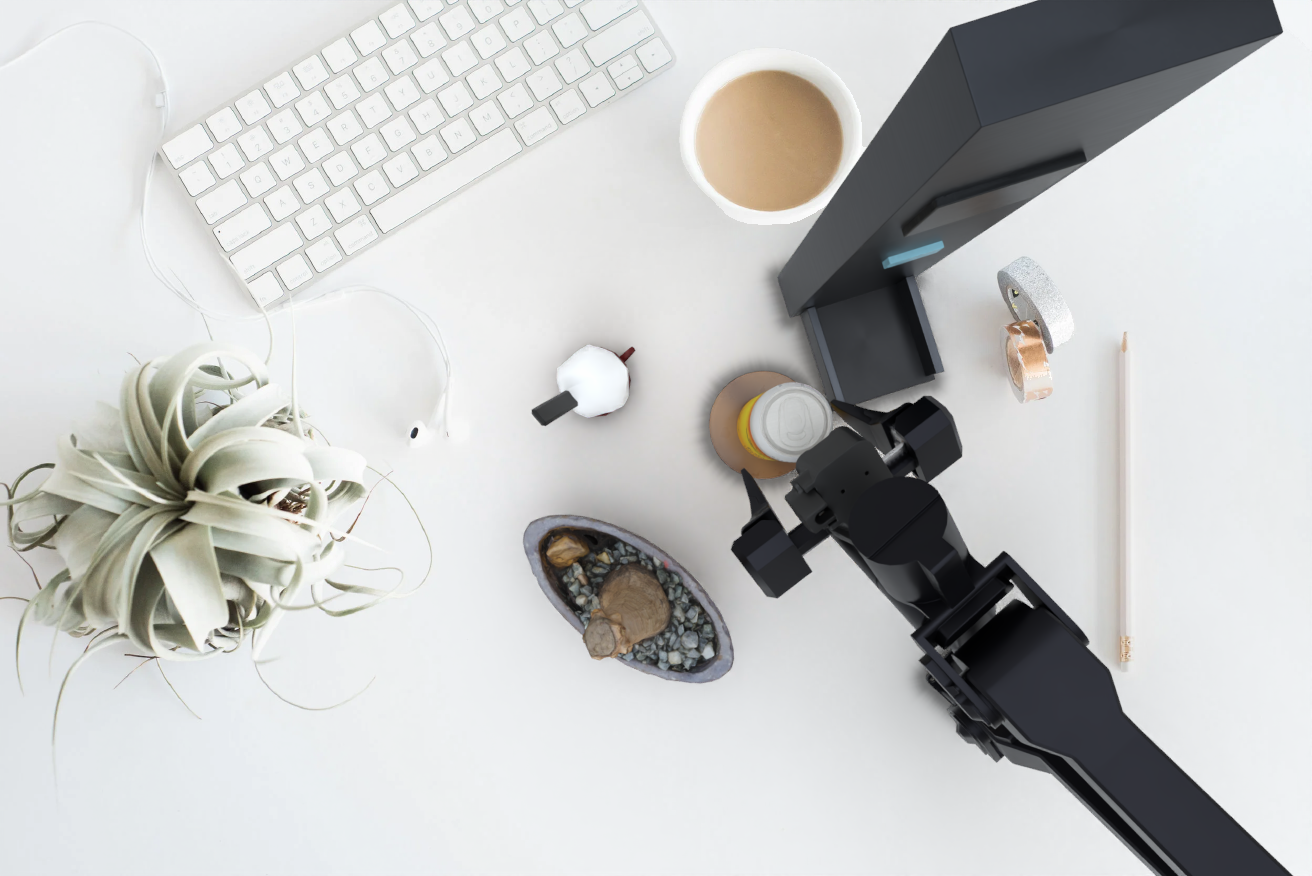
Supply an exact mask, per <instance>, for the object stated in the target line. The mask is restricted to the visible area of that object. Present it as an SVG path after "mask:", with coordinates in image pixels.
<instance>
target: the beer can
mask: <svg viewBox="0 0 1312 876" xmlns="http://www.w3.org/2000/svg"><path fill="white" fill-rule="evenodd" d="M833 430H834V415H833V412H832V411H831V408H830V406H829V404H828V401H827V398H826V396H824V395H823V394H822V393H821V392H820V391H819V390H818V389H816V388H814V387H813V386H811V385H809V384H806V383H803V382H797V381H795V382H789V383H783V384H780V385H777V386H775V387H773V388H771V389H769V390H768V391H766V392H764V393H762V394H760V395H758V396H756V397H754V398H753V399H751V400H750V401H749V402H747V403H746V404H745V406H744V407H743V408H742V410H741V412H740V414H739V417H738V420H737V433H738V437H739V440H740V442H741V443H742V445H743V447H744V448H745V449H746V450H747V451H748V452H749V453H751V454H752V455H754V456H755V457H758V458H761V459H765V460H773V461H782V462H796V461H797V459H798V458H799V456H800V455H801V454H803V453H804V452H805V451H807V450H810V449H812V448H813V447H814V446H815V445H817V444H818V443H819V442H821V441H822V440H823V439H825V438H826V437H827V436H828V435H829V434H830V432H831V431H833Z"/></svg>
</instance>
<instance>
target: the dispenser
mask: <svg viewBox="0 0 1312 876" xmlns="http://www.w3.org/2000/svg"><path fill="white" fill-rule="evenodd" d="M1283 33H1284V30H1283V25H1282V22H1281V20H1280V17H1279V14H1278V10H1277V7H1276V4H1275V1H1274V0H1033V1H1030V2H1026V3H1024V4H1020V5H1017V6H1015V7H1011V8H1007V9H1005V10H1002V11H998V12H995V13H992V14H989V15H985V16H982V17H979V18H975V19H972V20H969V21H966V22H963V23H960V24H956V25H954V26H950V27H949V28H948V30H947V31H946V33H945V34H944V35H943V37H942V38H941V40H940V41H939V43H938V44H937V46H936V47H935V48H934V49H933V52H931V54H930V56H929V57H928V59H927V60H926V61H925V62H924V65H922V67H921V69H920V70H919V71H918V73H917V74H916V76H915V77H914V79H913V80H912V82H911V83H910V85H909V86H908V88H907V89H906V90H905V92H904V93H903V95H902V96H901V98H900V99H899V100H898V102H897V104H896V105H895V106H894V108H893V109H892V110H891V112H890V113H889V115H888V116H887V118H886V119H885V120H884V122H883V124H882V125H881V126H880V128H879V129H878V131H877V132H876V134H875V135H874V136H873V138H872V139H871V141H870V142H869V143H868V146H866V148H865V149H864V151H863V152H862V154H861V156H860V157H859V158H858V159H857V161H856V163H855V164H854V165H853V166H852V168H851V169H850V172H848V174H847V176H846V177H845V178H844V180H843V181H842V183H841V184H840V186H839V187H838V189H837V190H836V191H835V193H834V194H833V195H832V197H831V198H830V200H829V201H828V203H827V205H826V206H825V208H823V210H822V211H821V213H820V215H819V216H818V217H817V219H816V220H815V222H814V223H813V224H812V226H811V227H810V229H809V230H808V231H807V233H806V235H805V236H804V238H803V239H802V240H801V242H800V243H799V245H797V246H798V247H797V248H796V249H795V250H794V252H793V254H792V255H791V256H790V258H789V259H788V261H786V263H785V265H784V266H783V268H782V269H781V271H780V272H779V274H778V275H777V276H776V279H777V282H778V285H779V288H780V291H781V294H782V298H783V300H784V304H785V306H786V307H785V308H786V310H787V313H788V316H789V318H794V317H797V316H800V319H801V321H802V325H803V328H804V331H805V335H806V337H807V340H808V344H809V347H810V350H811V353H812V356H813V359H814V363H815V366H816V370H817V372H818V375H819V379H820V382H821V384H822V388H823V391H824V394H825V399H826V400H827V402H828V404H829V406H830V408H831V411H832V413H833V412H835V411H834V409H833V408H832V406H831V404H830V401H832V400H833V399H835V400H839V401H842V402H846V403H849V404H852V405H858V404H862V403H865V402H867V401H868V402H869V401H871V400H874V399H878V398H881V397H885V396H887V395H890V394H893V393H897V392H899V391H903V390H906V389H909V388H912V387H916V386H918V385H922V384H925V383H928V382H931V381H934V380H935V381H936V376H935V375H937V374H941V373H943V372H945V368H944V364H943V362H942V358H941V355H940V352H939V349H938V346H937V342H936V340H935V337H934V333H933V331H932V327H931V324H930V320H929V317H928V314H927V312H926V308H925V305H924V302H923V299H922V295H921V292H920V289H919V286H918V283H917V280H916V278H917V277H918V276H920V275H921V274H923V273H924V272H925V271H927V270H929V269H930V268H932V267H933V266H935V265H936V264H938V263H939V262H941V261H943V260H944V259H945V258H947V257H948V256H950V255H951V254H953V253H954V252H956V251H957V250H958V249H960V248H962V247H963V246H965V245H966V244H968V243H970V242H971V241H972V240H973V239H976V238H977V237H979V236H980V235H982V234H983V233H985V232H986V231H988V230H989V229H991V228H992V227H993V226H995V225H996V224H998V223H1000V222H1001V221H1003V220H1004V219H1005V218H1007V217H1009V216H1010V215H1012V214H1013V213H1014V212H1016V211H1018V210H1019V209H1020V208H1023V206H1025V205H1026V204H1028V203H1030V202H1031V201H1032V200H1034V199H1036V198H1037V197H1038V196H1040V195H1041V194H1043V193H1044V192H1046V191H1048V190H1049V189H1051V188H1053V186H1055V185H1057V184H1058V183H1060V182H1061V181H1063V180H1064V179H1065V178H1067V177H1068V176H1069V175H1072V174H1073V173H1075V172H1076V171H1078V170H1079V169H1081V168H1082V167H1084V166H1086V164H1088V163H1090V162H1091V161H1093V160H1094V159H1095V158H1097V157H1098V156H1100V155H1102V154H1103V153H1105V152H1106V151H1108V150H1109V149H1111V148H1113V146H1116V144H1118V143H1120V142H1121V141H1123V140H1124V139H1126V138H1127V137H1129V136H1130V135H1132V134H1133V133H1135V132H1136V131H1138V130H1139V129H1141V128H1142V127H1144V126H1145V125H1147V124H1148V123H1150V122H1151V121H1152V120H1154V119H1156V118H1158V117H1159V116H1161V115H1162V114H1164V113H1165V112H1167V111H1168V110H1169V109H1171V108H1172V107H1173V106H1175V105H1177V104H1178V103H1180V102H1181V101H1183V100H1184V99H1186V98H1188V97H1189V96H1190V95H1192V94H1194V93H1195V92H1196V91H1198V90H1200V89H1201V88H1203V87H1205V85H1207V84H1208V83H1210V82H1211V81H1213V80H1215V79H1216V78H1217V77H1219V76H1221V75H1222V74H1224V73H1225V72H1226V71H1228V70H1230V69H1231V68H1233V67H1234V66H1236V65H1237V64H1238V63H1240V62H1241V61H1243V60H1245V59H1246V58H1248V57H1249V56H1250V55H1252V54H1253V53H1255V52H1256V51H1258V50H1259V49H1261V48H1263V47H1264V46H1266V45H1268V44H1270V42H1271V41H1273V40H1275V39H1277V38H1278V37H1279V36H1281V35H1282V34H1283Z"/></svg>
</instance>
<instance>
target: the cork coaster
mask: <svg viewBox="0 0 1312 876" xmlns="http://www.w3.org/2000/svg"><path fill="white" fill-rule="evenodd" d="M789 382H796V381H795V380H794V379H792V378H791V377H789V376H787V375H784V374H782V373H779V372H775V371H770V370H757V371H752V372H747V373H744V374H742V375H740V376H738V377H736V378H734V379H733V380H731V381H730V382H729V383H728V384H727V385H725V387H723V389H722V390H721V391H720V392H719V393H718V395H717V396H716V398H715V400H714V402H713V404H712V407H711V410H710V414H709V420H708V421H709V422H708V426H709V427H708V430H709V435H710V441H711V443H712V446H713V449H714V450H715V452H716V454H717V455H718V457H719V459H720V460H721V461H722V462H723V463H724V464H725V465H726V466H727V467H728V468H730V469H731V470H733V471H734V472H735V473H738V474H740V475H742V474H741V470H742V469H743V468H745V469H746V470H747V471H748V472H749V473H750V474H751V475H752V477H753V478H754V479H757V480H769V479H775V478H779V477H783V476H785V475H787V474H789V473H791V472H793V471H794V470H796V462H782V461H773V460H765V459H761V458H758V457H755V456H754V455H752V454H751V453H749V452H748V451H747V450H746V449H745V448H744V447H743V445H742V443H741V442H740V440H739V437H738V433H737V420H738V417H739V414H740V412H741V410H742V408H743V407H744V406H745V404H746V403H747V402H749V401H750V400H751V399H753V398H754V397H756V396H758V395H760V394H762V393H764V392H766V391H768V390H769V389H771V388H773V387H775V386H777V385H780V384H783V383H789Z"/></svg>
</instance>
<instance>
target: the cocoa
mask: <svg viewBox="0 0 1312 876" xmlns="http://www.w3.org/2000/svg"><path fill="white" fill-rule="evenodd" d="M636 350H637V349H636V348H635V347H634V346H630V347H629V348H627V349H626V350H625V351H624V352H623V353H622V354H620V355H619V354H618V353H617V352H615V351H612V350H610V349H608V348H605V347H603V346H595V345H591V344H586V345H584V346H583V347H581V348H579V349H577V351H576V352H574V353H573V354H572V355H571V356H570V357H569V358H568V359H566V360H565V361H564V362H563V363H562V364H561V365H559V366H558V367H557V368H556V383H557V386H558V391H559V394H557V395H555V396H553V397H551V398H550V399H548V400H546V401H544V402H543V403H540V404H539V405H537V406H535V407H533V408H531V415H532V416H533V418H534V419H535V420H536V421H537V422H538V423H539V425H540V426H542V427H546V426H548V425H550V424H551V423H553V422H554V421H556V420H558V419H559V418H561V417H563V416H564V415H565V414H568V413H569V412H571V411H572V412H575V413H576V414H577V415H580V416H582V417H584V418H588V419H589V418H594V417H595V418H596V417H606V416H607V415H610V414H612V413H613V412H615V411H617V410H619V409H621V408H622V407H624V406H625V404H626V403H627V401H628V399H629V398H630V388H631V383H632V378H631V376H630V371H629V369H628V365H627V364H626V362H627V361H628V360H629V359H630V358H631V357H632V356H633V354H634V353H635V352H636Z"/></svg>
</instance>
